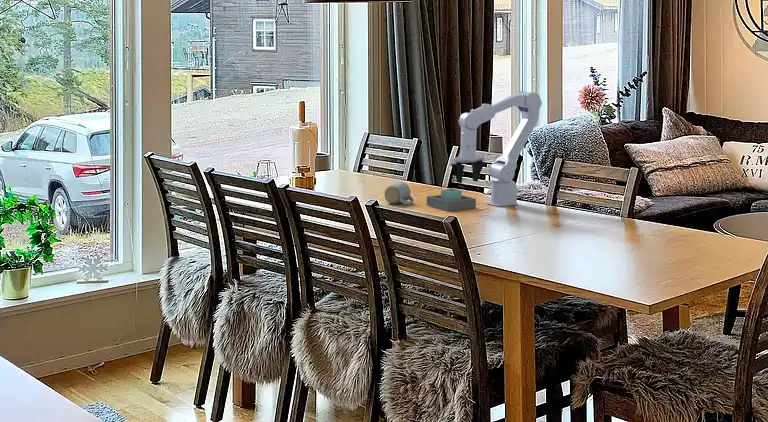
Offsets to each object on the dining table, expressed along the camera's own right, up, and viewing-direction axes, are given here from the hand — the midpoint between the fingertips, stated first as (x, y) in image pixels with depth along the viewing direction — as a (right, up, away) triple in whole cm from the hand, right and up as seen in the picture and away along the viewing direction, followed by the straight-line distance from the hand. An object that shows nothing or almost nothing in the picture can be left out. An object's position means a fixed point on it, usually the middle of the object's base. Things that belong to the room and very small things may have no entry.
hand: (467, 181), depth 351 cm
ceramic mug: (-25, -8, +7) cm, 27 cm away
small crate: (-6, -8, +1) cm, 10 cm away
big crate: (-6, -9, +1) cm, 11 cm away
